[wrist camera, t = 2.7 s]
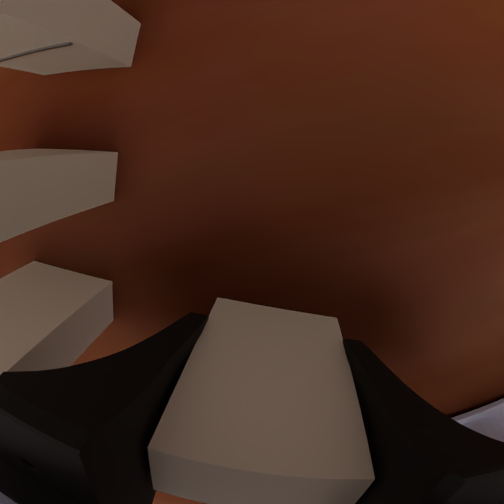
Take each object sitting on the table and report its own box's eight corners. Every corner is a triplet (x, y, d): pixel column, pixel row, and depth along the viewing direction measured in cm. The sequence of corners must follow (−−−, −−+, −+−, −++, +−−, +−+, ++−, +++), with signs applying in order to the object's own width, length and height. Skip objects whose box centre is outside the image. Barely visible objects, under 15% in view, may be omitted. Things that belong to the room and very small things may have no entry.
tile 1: (131, 68, 10) (-17, 11, 3) (44, 76, 10) (-91, 58, 3) (141, 23, 9) (15, -61, 2) (53, 36, 9) (-72, 0, 3)
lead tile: (324, 358, 12) (342, 517, 5) (212, 339, 12) (153, 490, 6) (336, 317, 11) (375, 478, 5) (217, 297, 12) (147, 447, 5)
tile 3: (113, 321, 13) (14, 432, 6) (38, 297, 13) (-64, 373, 6) (112, 281, 12) (-7, 383, 5) (34, 260, 12) (-81, 328, 6)
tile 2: (114, 203, 11) (-39, 263, 4) (31, 191, 11) (-102, 233, 5) (118, 152, 10) (-44, 167, 4) (34, 148, 11) (-105, 167, 4)
